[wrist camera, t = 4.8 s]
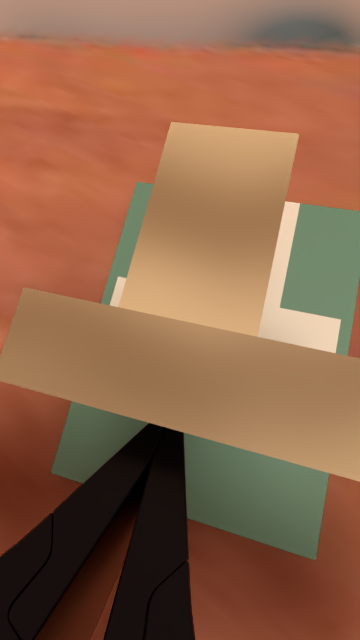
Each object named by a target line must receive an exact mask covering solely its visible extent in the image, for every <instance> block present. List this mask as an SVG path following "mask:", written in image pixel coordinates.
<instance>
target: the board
mask: <svg viewBox="0 0 360 640" xmlns="http://www.w3.org/2000/svg"><path fill="white" fill-rule="evenodd" d="M152 188H153V184H149V183H142V182H137V183H136V186H135V189H134V193H133V196H132V200H131V203H130V206H129V210H128V213H127V216H126V220H125V223H124V227H123V230H122V233H121V237H120V240H119V243H118V247H117V250H116V254H115V257H114V260H113V264H112V267H111V270H110V274H109V277H108V281H107V284H106V287H105V291H104V294H103V297H102V301H101V304H105V305H110V306H115V307H118V306H119V303H120V299H121V296H122V292H123V289H124V285H125V282H126V278H127V275H128V272H129V268H130V265H131V261H132V258H133V254H134V251H135V247H136V244H137V240H138V237H139V233H140V230H141V226H142V223H143V219H144V216H145V212H146V209H147V205H148V202H149V198H150V195H151V191H152ZM359 278H360V211H354V210H346V209H339V208H331V207H324V206H316V205H308V204H301V203H293V202H286V201H285V205H284V210H283V215H282V220H281V225H280V230H279V234H278V239H277V244H276V249H275V254H274V259H273V264H272V269H271V273H270V278H269V283H268V288H267V293H266V298H265V303H264V308H263V313H262V317H261V322H260V327H259V332H258V337H261V338H266V339H270V340H275V341H280V342H285V343H289V344H294V345H299V346H303V347H308V348H313V349H318V350H322V351H327V352H332V353H337V354H341V355H346V356H347V355H348V349H349V342H350V336H351V329H352V323H353V317H354V310H355V304H356V297H357V291H358V284H359ZM147 424H148V422H144V421H141V420H137V419H134V418H130V417H127V416H123V415H119V414H116V413H112V412H109V411H105V410H101V409H98V408H94V407H91V406H87V405H84V404H80V403H76V402H73V401H72V402H71V405H70V409H69V412H68V416H67V419H66V422H65V426H64V429H63V432H62V436H61V439H60V443H59V446H58V449H57V453H56V456H55V459H54V463H53V466H52V470H51V473H52V474H55V475H58V476H61V477H64V478H67V479H70V480H73V481H76V482H79V483H82V484H83V483H84V482H85V481H86V480H87V479H88V478H89V477H90V476H92V475H93V474H94V473H95V472H96V471H97V470H98V469H99V468H100V467H101V466H102V465H103V464H105V463H106V462H107V461H108V460H109V459H110V458H111V457H112V456H113V455H114V454H115V453H117V452H118V451H119V450H120V449H121V448H122V447H123V446H124V445H125V444H126V443H127V442H128V441H130V440H131V439H132V438H133V437H134V436H135V435H136V434H137V433H138V432H139V431H140V430H142V429H143V428H144V427H145V426H146V425H147ZM184 449H185V474H186V500H187V518H188V519H191V520H194V521H197V522H200V523H203V524H206V525H209V526H212V527H215V528H218V529H221V530H224V531H227V532H230V533H233V534H236V535H239V536H242V537H245V538H248V539H251V540H255V541H258V542H261V543H264V544H267V545H270V546H273V547H276V548H279V549H282V550H285V551H288V552H291V553H294V554H297V555H300V556H303V557H306V558H309V559H312V560H315V561H316V555H317V548H318V542H319V535H320V529H321V523H322V516H323V510H324V503H325V497H326V490H327V484H328V477H329V473H327V472H323V471H320V470H316V469H313V468H309V467H305V466H302V465H298V464H295V463H291V462H288V461H284V460H280V459H277V458H273V457H270V456H266V455H263V454H259V453H255V452H252V451H248V450H245V449H241V448H237V447H234V446H230V445H227V444H223V443H220V442H216V441H212V440H209V439H205V438H202V437H198V436H195V435H191V434H187V433H184Z"/></svg>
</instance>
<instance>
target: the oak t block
mask: <svg viewBox="0 0 360 640" xmlns="http://www.w3.org/2000/svg"><path fill="white" fill-rule="evenodd" d="M298 137H299V134H295V133H285V132H274V131H263V130H252V129H241V128H230V127H220V126H209V125H198V124H187V123H176V122H171V125H170V128H169V132H168V135H167V139H166V142H165V146H164V149H163V153H162V156H161V160H160V163H159V167H158V170H157V174H156V177H155V181H154V184H153V188H152V191H151V195H150V198H149V202H148V205H147V209H146V212H145V216H144V219H143V223H142V226H141V230H140V233H139V237H138V240H137V244H136V247H135V251H134V254H133V258H132V261H131V265H130V268H129V272H128V275H127V278H126V282H125V285H124V289H123V292H122V296H121V299H120V303H119V306H118V307H115V306H110V305H105V304H101V303H96V302H91V301H87V300H82V299H77V298H72V297H68V296H63V295H58V294H54V293H49V292H44V291H39V290H35V289H30V288H25V287H24V288H23V291H22V294H21V296H20V299H19V302H18V305H17V308H16V311H15V314H14V317H13V320H12V323H11V326H10V329H9V332H8V334H7V337H6V340H5V343H4V346H3V349H2V352H1V355H0V381H1V382H5V383H8V384H12V385H16V386H19V387H23V388H26V389H30V390H33V391H37V392H41V393H44V394H48V395H51V396H55V397H59V398H62V399H66V400H69V401H73V402H76V403H80V404H84V405H87V406H91V407H94V408H98V409H101V410H105V411H109V412H112V413H116V414H119V415H123V416H127V417H130V418H134V419H137V420H141V421H144V422H148V423H152V424H155V425H159V426H162V427H166V428H169V429H173V430H177V431H180V432H184V433H187V434H191V435H195V436H198V437H202V438H205V439H209V440H212V441H216V442H220V443H223V444H227V445H230V446H234V447H237V448H241V449H245V450H248V451H252V452H255V453H259V454H263V455H266V456H270V457H273V458H277V459H280V460H284V461H288V462H291V463H295V464H298V465H302V466H305V467H309V468H313V469H316V470H320V471H323V472H327V473H331V474H334V475H338V476H341V477H345V478H348V479H352V480H356V481H359V482H360V358H355V357H351V356H346V355H341V354H337V353H332V352H327V351H322V350H318V349H313V348H308V347H303V346H299V345H294V344H289V343H285V342H280V341H275V340H270V339H266V338H261V337H258V332H259V327H260V322H261V317H262V313H263V308H264V303H265V298H266V293H267V288H268V283H269V278H270V273H271V269H272V264H273V259H274V254H275V249H276V244H277V239H278V234H279V230H280V225H281V220H282V215H283V210H284V205H285V200H286V195H287V191H288V186H289V181H290V176H291V171H292V166H293V161H294V156H295V152H296V147H297V142H298Z"/></svg>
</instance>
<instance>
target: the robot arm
mask: <svg viewBox="0 0 360 640" xmlns="http://www.w3.org/2000/svg"><path fill="white" fill-rule="evenodd" d="M124 560H125V561H124ZM188 560H189V550H188V525H187V500H186V474H185V449H184V432H180V431H177V430H173V429H169V428H166V427H162V426H159V425H155V424H152V423H148V424H147V425H146V426H145V427H144V428H143V429H142V430H140V431H139V432H138V433H137V434H136V435H135V436H134V437H133V438H132V439H131V440H130V441H128V442H127V443H126V444H125V445H124V446H123V447H122V448H121V449H120V450H119V451H118V452H117V453H115V454H114V455H113V456H112V457H111V458H110V459H109V460H108V461H107V462H106V463H105V464H103V465H102V466H101V467H100V468H99V469H98V470H97V471H96V472H95V473H94V474H93V475H92V476H90V477H89V478H88V479H87V480H86V481H85V482H84V483H83V484H82V485H81V486H80V487H78V488H77V489H76V490H75V491H74V492H73V493H72V494H71V495H70V496H69V497H68V498H67V499H65V500H64V501H63V502H62V503H61V504H60V505H59V506H58V507H57V508H56V509H55V510H54V511H53V513H50V514H49V515H48V516H47V517H46V518H45V519H44V520H42V521H41V522H40V523H39V524H38V525H37V526H36V527H35V528H34V529H32V530H31V531H30V532H29V533H28V534H27V535H26V536H24V537H23V538H22V539H21V540H20V541H19V542H18V543H16V544H15V545H14V546H13V547H11V548H10V549H9V550H8V551H6V552H5V553H4V554H3V555H1V556H0V640H90V639H91V637H92V634H93V632H94V630H95V627H96V625H97V623H98V620H99V618H100V616H101V613H102V611H103V609H104V607H105V604H106V602H107V600H108V597H109V595H110V593H111V590H112V588H113V586H114V583H115V581H116V579H117V576H118V574H119V572H120V570H121V567H122V565H123V563H124V565H123V568H122V572H121V576H120V580H119V583H118V587H117V591H116V595H115V598H114V602H113V606H112V609H111V613H110V617H109V621H108V624H107V628H106V632H105V636H104V639H103V640H195V632H194V624H193V616H192V605H191V590H190V571H189V562H188Z"/></svg>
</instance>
